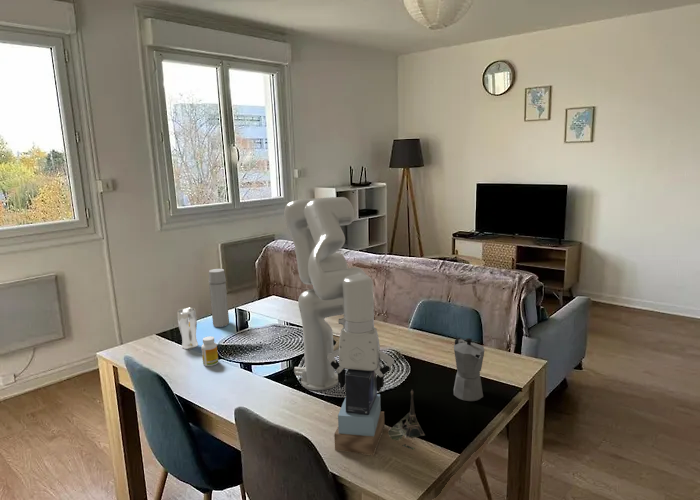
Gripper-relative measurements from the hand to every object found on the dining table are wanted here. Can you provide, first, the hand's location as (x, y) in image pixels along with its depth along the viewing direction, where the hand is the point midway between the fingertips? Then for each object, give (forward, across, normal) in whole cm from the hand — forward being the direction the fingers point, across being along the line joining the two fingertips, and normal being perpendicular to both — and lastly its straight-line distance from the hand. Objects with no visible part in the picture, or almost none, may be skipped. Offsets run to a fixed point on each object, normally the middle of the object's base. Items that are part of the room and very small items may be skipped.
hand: (360, 387), depth 125 cm
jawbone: (+16, -28, +57) cm, 65 cm away
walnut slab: (+15, 0, 0) cm, 15 cm away
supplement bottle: (+15, -65, +34) cm, 75 cm away
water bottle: (+15, -82, +72) cm, 110 cm away
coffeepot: (+15, +26, +30) cm, 42 cm away
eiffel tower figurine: (+15, +12, +6) cm, 20 cm away
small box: (+5, 0, 0) cm, 5 cm away
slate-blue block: (+10, 0, 0) cm, 10 cm away
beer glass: (+15, -82, +47) cm, 96 cm away
